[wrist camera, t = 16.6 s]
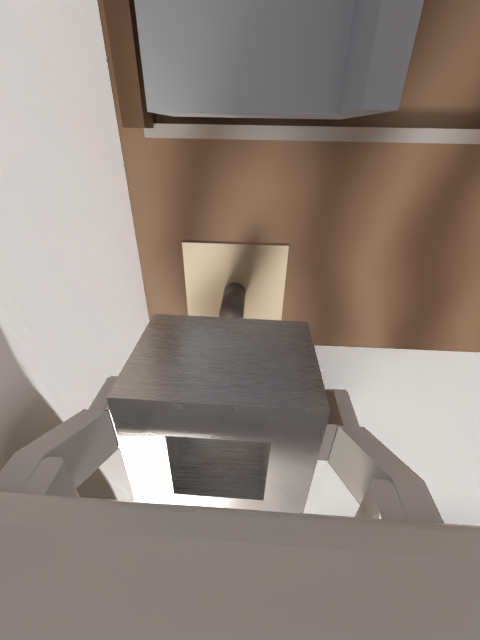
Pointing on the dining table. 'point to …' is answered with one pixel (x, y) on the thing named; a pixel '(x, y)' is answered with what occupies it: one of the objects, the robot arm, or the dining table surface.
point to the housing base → (316, 201)
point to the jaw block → (221, 413)
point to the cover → (275, 56)
